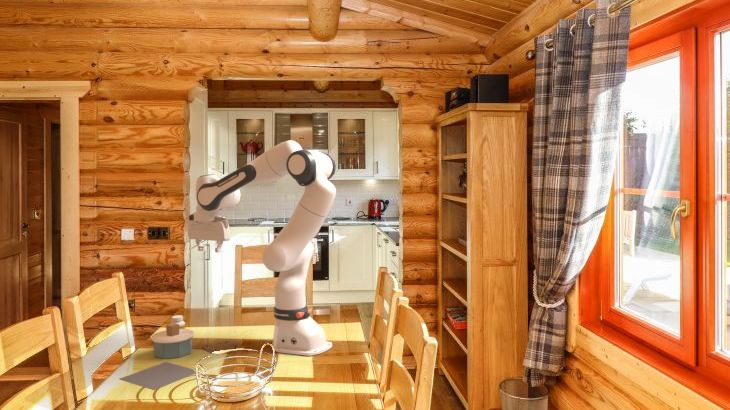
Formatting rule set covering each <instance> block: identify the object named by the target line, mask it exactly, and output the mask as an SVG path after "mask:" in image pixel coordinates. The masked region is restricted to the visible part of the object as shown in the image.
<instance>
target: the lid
mask: <svg viewBox="0 0 730 410" xmlns="http://www.w3.org/2000/svg"><path fill="white" fill-rule="evenodd" d="M165 327H166V329H165V330H162V331H161V330H160V331H159V332H156V333H154V334H152V335H151V341H152V342H153V343H154V342H156V343H175V342H181V341H185V340H188V339H190V338H193V337H194V336H195V332H194V331H193V330H192V329H187V328H185V329H179V324H175V323H172V324H170V323H169V324H166V325H165Z"/></svg>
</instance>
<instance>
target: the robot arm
mask: <svg viewBox="0 0 730 410" xmlns="http://www.w3.org/2000/svg"><path fill="white" fill-rule="evenodd" d="M336 169H337V165H336V162H335V160H334V159H333V157H331V155H329V154H328V153H325V152H320V151H317V150H313V149H303V147H302V146H301V145H300V144H299V142H298V141H295V140H292V139H289V140H285V141H283V142H279V143H278V144H276V145H274V146H272V147H270V148H269V149H267V150H266V151H264V152H263V153H261V154H260V155H259V156H257V157H256V158H254V159H253V160H251V161H249V162H248V163H246V164H245V165H243V166H241V167H240V168H238V169H236V170H234V171H232V172H231V173H229V174H227V175H226V176H224V177H222V178H220V177H219V176H218V175H216V174H214V173H213V174H205V175H199V176H198V178H197V179H196V182H195V201H196V208H195V211H196V212H193V213H191V214H189V215H187V216H186V217H187V221H188V222H187V237H188V239H190V240H194V241H195V244H196V245H197V251H198V252H204V251H205V246H204V245H203V244H202V242H203V241H210V242H211V241H214V242H216V247H214V252H215V253H221V252H222V246H224V245H223V244H224V242H229V241H230V240H231V231H230V230H231V229H230V225H229V220H228V219H227V218H226V216H221V210H223V209H231V208H234V207H236V206H238V205H239V204H240V201H241V199H242V192H241V189H242V188H245V187H247V186H254V185H263V184H270V183H273V182H275V181H278V180H280V179H282V178H283V177H285V176H286V175H288V174H289V176H291V178H293V179H294V181H296V183H297V184H298V186H300V187H304V191H303V194H302V196H301V197H300V199H299V201H298V203H297V205H296V207H295V209H294V211H293V212H292V214H291V216H290V218H289V219H288V221H287V223H285V225H284V226H283V227H282V229H281V230H280V231H279V232H278V234H277V235H276V237H275V238H274V239H272V241H271V243H269V244H268V245H267V246H266V247H265V248H264V249H263V252H262V258H261V259H262V262H263V263H262V264H263V265H264V266H265V268H266V269H268V270H269V271H271V272H278V273H279V275H278V279H277V280H276V282H275V284H274V307H273V317H274V329H273V330H274V331H273V338H272V343H271V346H272V345H273V346H274V348H275V351H276V352H275V353H282V354H288V355H289V354H291V355H297V356H299V355H300V356H306V357H311V356H316V355H319V354H322V353H324V352H327V351H329V350H330V349H331V348H332V347H333V342H331V341H328V340H327V337H326V333H325V332H326V331H325V329H324V328H323V327H322V326H321V325H320V324H319V323H318V322H316V321H315V320H314V319H313V318H312V317H311V315H310V313H312V312H313V311H312V310H313V308H310V309H309V308H308V306H307V304H306V302H307V301H306V298H307V297H306V288H307V287H306V285H307V279H308V278H307V277H308V272H309V268H310V267H309V266H310V264H311V263H310V262H311V260H312V259H313V256H314V253H315V248H314V244H313V242H312V240H313V239H314V238H315V237H316V236H317V235H318V234H319V232H320V230H321V227H322V226H323V225H324V222H325V221H326V218H327V216H328V215H329V213H330V212H331V209H332V207H333V204H334V201H335V199H336V196H337V189H336V187H335V185H334V184H333V183H332V182H331V181H330V180H331V178H332V177H333V176H335V173H336Z"/></svg>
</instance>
